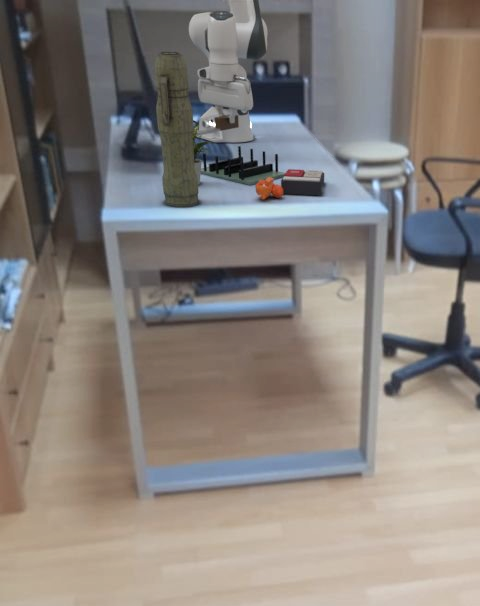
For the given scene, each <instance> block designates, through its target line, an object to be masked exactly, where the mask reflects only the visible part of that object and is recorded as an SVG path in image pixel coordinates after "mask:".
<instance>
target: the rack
mask: <svg viewBox="0 0 480 606" xmlns="http://www.w3.org/2000/svg"><path fill="white" fill-rule="evenodd" d="M206 153H207V152H206ZM206 153H204V152H202V158H203V159H202V161H203V167H201V173H200V175H201V174H202V175H207V176H210V177H215V178H219V179H223V180H227V181H231V182H235V183H240V184H244V185H247V186H253V185H256V184H257V183H258V181H259V180H266V179H267V178H268V177H271V178H274V180H276V179H280V178H281V179H282V178H283V176H284V175H285V173H286V172H283V171H279V154H278V153H275V154H274V163H275V164H273V163H271V162H269V163H266V151H264V150H262V164H260V165H259V160H257V159H254V149H253V148H250V149H249V154H250V157H249V158H250V160H248V161H245V162H244V156H242V146H241V145H238V146H237V153H238V157H234V158H227V159H224V160H219V156H218V155H215V156H214V158H215V161H214V162H210V163H208V166H207V154H206ZM274 167H275V169H274Z"/></svg>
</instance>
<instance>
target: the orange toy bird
mask: <svg viewBox="0 0 480 606" xmlns="http://www.w3.org/2000/svg"><path fill="white" fill-rule="evenodd" d="M274 180H275V179H274V178H271V177H268V178H267V179H266V180H259V181H258V183H257V184H255V186H254V187H255V193H256V194H257V195H258V196H259V199H260V200H263V201H265V199H266V198H268V197H269V196H270V195H272V196H273V197H274V198H275V199H280V198H282V197H283V195H284V194H283V188H282V187H281V184H280V185H279V184H276V183H274Z"/></svg>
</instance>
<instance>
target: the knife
mask: <svg viewBox="0 0 480 606" xmlns="http://www.w3.org/2000/svg"><path fill="white" fill-rule="evenodd" d="M229 116H230V115H225V116H220V117H215V128H212V129H207V130H202V131H199V130H197V135H201V134H203V133H204V132H205V133H204V134H207V133H212V132H217V131H223V130H228V129H233V128H238V127H239V123H238V115H235V123H228V119H227V117H229ZM206 131H207V132H206Z"/></svg>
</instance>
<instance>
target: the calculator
mask: <svg viewBox="0 0 480 606" xmlns="http://www.w3.org/2000/svg"><path fill="white" fill-rule="evenodd" d="M284 173H285V175H284V176H283V177H281V180H280V186H281V187H282V188H283V195H302V196H303V195H304V196H322V192H323V187H324V185H325V172H323V170H314V169H313V170H311V169H306V170H304V169H295V168H293V169H291V168H288V169H287V170H286V172H284Z"/></svg>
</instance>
